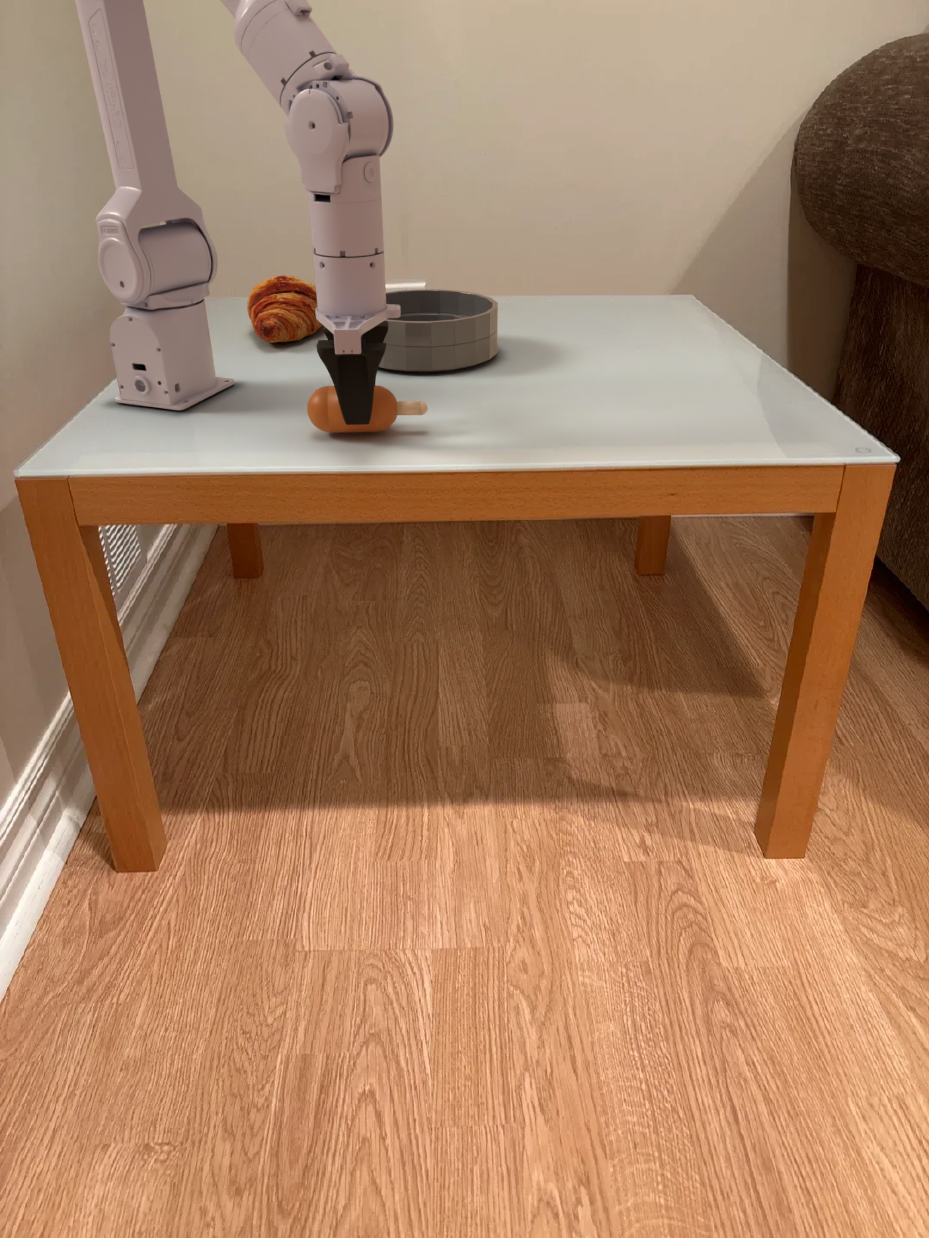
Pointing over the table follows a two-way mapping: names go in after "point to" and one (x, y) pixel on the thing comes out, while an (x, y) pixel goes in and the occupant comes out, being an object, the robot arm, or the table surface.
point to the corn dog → (384, 414)
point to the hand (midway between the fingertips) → (359, 415)
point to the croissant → (283, 309)
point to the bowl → (440, 330)
